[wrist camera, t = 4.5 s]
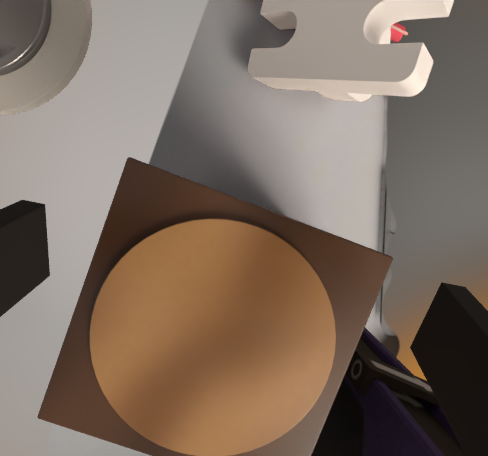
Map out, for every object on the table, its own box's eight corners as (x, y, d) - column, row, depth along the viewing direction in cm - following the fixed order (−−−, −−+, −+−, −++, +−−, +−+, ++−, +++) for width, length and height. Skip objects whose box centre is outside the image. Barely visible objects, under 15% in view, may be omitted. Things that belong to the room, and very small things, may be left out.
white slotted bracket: (245, 76, 38) (296, 105, 46) (409, 82, 27) (438, 118, 35) (267, -17, 36) (316, 30, 44) (453, -53, 25) (472, 19, 33)
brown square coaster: (55, 397, 16) (31, 423, 14) (138, 160, 15) (125, 155, 13) (287, 474, 17) (293, 509, 15) (378, 251, 16) (397, 258, 14)
